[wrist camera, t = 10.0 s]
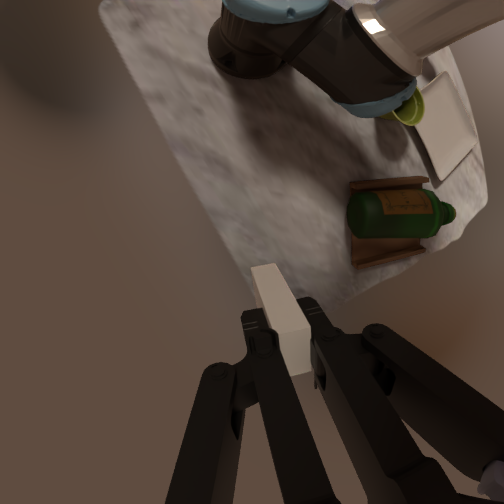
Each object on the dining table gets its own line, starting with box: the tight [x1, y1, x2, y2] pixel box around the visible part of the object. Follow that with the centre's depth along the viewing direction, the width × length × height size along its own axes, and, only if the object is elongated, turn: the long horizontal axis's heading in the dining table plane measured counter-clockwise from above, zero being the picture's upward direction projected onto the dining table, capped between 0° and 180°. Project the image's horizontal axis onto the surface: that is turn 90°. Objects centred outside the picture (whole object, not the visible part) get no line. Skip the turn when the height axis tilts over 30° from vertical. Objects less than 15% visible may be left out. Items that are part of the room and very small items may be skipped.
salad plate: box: [414, 71, 478, 181], centre depth 47 cm, size 21×21×3 cm
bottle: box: [347, 189, 456, 239], centre depth 50 cm, size 11×11×28 cm
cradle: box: [350, 176, 429, 270], centre depth 54 cm, size 18×20×3 cm
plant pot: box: [378, 86, 425, 126], centre depth 42 cm, size 9×9×9 cm
